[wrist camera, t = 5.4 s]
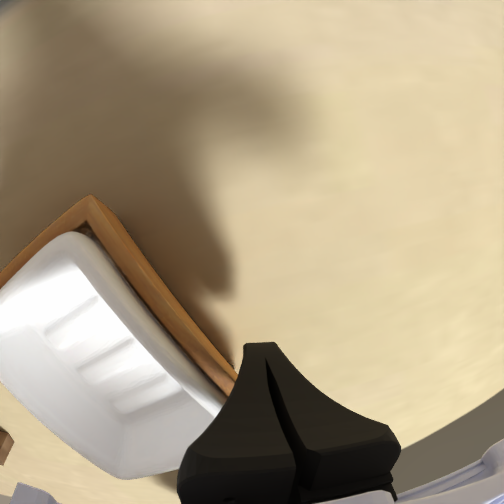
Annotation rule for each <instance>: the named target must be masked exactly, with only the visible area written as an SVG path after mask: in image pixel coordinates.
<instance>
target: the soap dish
mask: <svg viewBox="0 0 504 504" xmlns="http://www.w3.org/2000/svg"><path fill="white" fill-rule="evenodd" d="M237 377H238V374H237V373H236V372H235V371H234V369H233V367H232V365H230V364H228V363H227V361H226V360H225V359H224V358H223V356H222V355H221V354H220V353H219V352H218V350H217V349H216V348H215V347H214V346H213V345H212V343H211V342H210V341H209V340H208V338H207V337H206V336H205V335H204V334H203V332H202V331H201V330H200V329H199V327H198V326H197V325H196V324H195V322H194V321H193V320H192V319H191V317H190V316H189V315H188V314H187V312H186V311H185V310H184V309H183V307H182V306H181V305H180V303H179V302H178V301H177V300H176V298H175V297H174V296H173V294H172V293H171V292H170V290H169V289H168V288H167V286H166V285H165V284H164V282H163V281H162V280H161V278H160V277H159V276H158V274H157V273H156V272H155V270H154V269H153V268H152V266H151V265H150V264H149V262H148V261H147V259H146V258H145V256H144V255H143V254H142V252H141V251H140V250H139V248H138V247H137V245H136V244H135V242H134V241H133V240H132V238H131V237H130V235H129V234H128V232H127V231H126V229H125V228H124V227H123V225H122V224H121V222H120V221H119V219H118V218H117V216H116V215H115V214H114V213H113V212H112V211H111V210H110V209H109V208H108V207H106V206H105V205H104V204H103V203H102V202H101V201H99V200H98V199H97V198H96V197H95V196H93V195H92V194H89V195H88V196H86V197H84V198H83V199H81V200H80V201H78V202H77V203H76V204H74V205H73V206H72V207H71V208H70V209H68V210H67V211H66V212H65V213H63V214H62V215H61V216H60V217H59V218H58V219H57V220H55V221H54V222H53V223H52V224H50V225H49V226H48V227H47V228H46V229H45V230H44V231H43V232H41V233H40V234H39V235H38V236H37V237H36V238H35V239H34V240H33V241H32V242H30V243H29V244H28V246H27V247H25V248H24V249H23V250H22V251H21V252H20V253H19V254H18V255H17V256H16V257H15V258H14V259H13V260H12V261H11V262H10V263H9V264H8V265H7V266H6V267H5V268H4V269H3V270H2V271H1V272H0V381H1V383H2V384H3V385H4V386H5V387H6V388H7V389H8V390H9V391H10V392H11V394H12V395H13V396H14V397H15V398H16V399H17V400H18V401H19V402H20V403H21V404H22V405H23V406H24V407H25V408H26V409H27V410H28V411H29V412H30V413H31V414H32V415H34V416H35V417H36V418H37V419H38V420H39V421H40V422H41V423H42V424H43V425H44V426H46V427H47V428H48V429H49V430H50V431H51V432H53V433H54V434H55V435H56V436H57V437H59V438H60V439H61V440H62V441H64V442H65V443H66V444H68V445H69V446H70V447H71V448H72V449H74V450H75V451H77V452H78V453H79V454H81V455H82V456H83V457H85V458H86V459H87V460H89V461H90V462H92V463H93V464H94V465H96V466H97V467H99V468H100V469H102V470H103V471H105V472H107V473H108V474H110V475H112V476H114V477H116V478H119V479H123V480H130V479H137V478H143V477H147V476H152V475H156V474H161V473H165V472H169V471H173V470H176V469H179V468H180V464H181V462H182V459H183V457H184V454H185V452H186V450H187V448H188V447H189V446H190V445H191V444H192V443H193V442H194V441H195V440H196V439H197V438H198V437H199V436H200V435H201V434H202V433H203V432H204V431H205V430H206V428H207V427H208V426H209V425H210V424H211V422H212V421H213V420H214V419H215V417H216V416H217V414H218V413H219V411H220V410H221V408H222V407H223V405H224V404H225V402H226V400H227V398H228V397H229V395H230V393H231V391H232V389H233V386H234V384H235V381H236V379H237Z"/></svg>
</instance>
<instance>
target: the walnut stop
mask: <svg viewBox="0 0 504 504" xmlns="http://www.w3.org/2000/svg"><path fill="white" fill-rule="evenodd" d="M13 444H14V441H13V439H12V438H11V436H10V435H9V433H6V432H3V431H0V465H4V463H5V460H6V458H7V456H8V454H9V452H10V450H11V448H12V446H13Z"/></svg>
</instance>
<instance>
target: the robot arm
mask: <svg viewBox="0 0 504 504" xmlns="http://www.w3.org/2000/svg"><path fill="white" fill-rule="evenodd" d="M400 452H401V446H400V444H399V442H398V440H397V438H396V436H395V435H394V433H393V432H392V431H391V429H390V428H389V426H388V425H386V424H383V423H380V422H377V421H374V420H371V419H369V418H366V417H364V416H361V415H359V414H357V413H355V412H353V411H351V410H349V409H347V408H345V407H344V406H342V405H340V404H339V403H337V402H335V401H334V400H332V399H331V398H329V397H328V396H326V395H325V394H324V393H322V392H321V391H320V390H318V389H317V388H316V387H315V386H314V385H312V384H311V383H310V382H309V381H308V380H307V379H306V378H305V377H304V376H303V375H302V374H301V373H300V372H299V371H298V370H297V369H296V368H295V367H294V365H293V364H292V363H291V362H290V361H289V360H288V358H287V357H286V356H285V355H284V353H283V352H282V351H281V349H280V348H279V347H278V345H277V344H276V343H275V342H263V343H246V344H245V345H244V346H243V360H242V364H241V367H240V371H239V374H238V377H237V379H236V381H235V384H234V386H233V389H232V391H231V393H230V395H229V397H228V398H227V400H226V402H225V404H224V405H223V407H222V408H221V410H220V411H219V413H218V414H217V416H216V417H215V419H214V420H213V421H212V422H211V424H210V425H209V426H208V427H207V428H206V430H205V431H204V432H203V433H202V434H201V435H200V436H199V437H198V438H197V439H196V440H195V441H194V442H193V443H192V444H191V445H190V446H189V447H188V448H187V450H186V452H185V454H184V457H183V459H182V462H181V464H180V468H179V471H178V476H177V493H178V496H179V498H180V501H181V504H504V439H502V440H501V441H499V442H497V443H495V444H494V445H492V446H491V447H490V448H489V449H488V450H487V451H486V452H485V453H484V455H483V456H482V458H481V459H480V460H478V461H476V462H474V463H472V464H470V465H468V466H466V467H464V468H462V469H460V470H457V471H455V472H453V473H451V474H449V475H446V476H444V477H442V478H439V479H437V480H435V481H432V482H430V483H427V484H425V485H422V486H419V487H417V488H414V489H411V490H409V491H406V492H403V493H400V494H397V495H396V493H395V491H394V489H393V487H392V484H391V483H392V482H393V477H392V475H391V473H390V471H391V469H392V468H393V466H394V464H395V463H396V461H397V459H398V457H399V455H400ZM10 504H61V503H57V502H56V500H55V499H54V498H53V497H52V496H51V495H50V494H49V493H47V492H46V491H44V490H41V489H38V488H35V487H32V486H29V485H26V484H23V483H21V482H18V483H17V486H16V488H15V491H14V494H13V496H12V499H11V502H10Z"/></svg>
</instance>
